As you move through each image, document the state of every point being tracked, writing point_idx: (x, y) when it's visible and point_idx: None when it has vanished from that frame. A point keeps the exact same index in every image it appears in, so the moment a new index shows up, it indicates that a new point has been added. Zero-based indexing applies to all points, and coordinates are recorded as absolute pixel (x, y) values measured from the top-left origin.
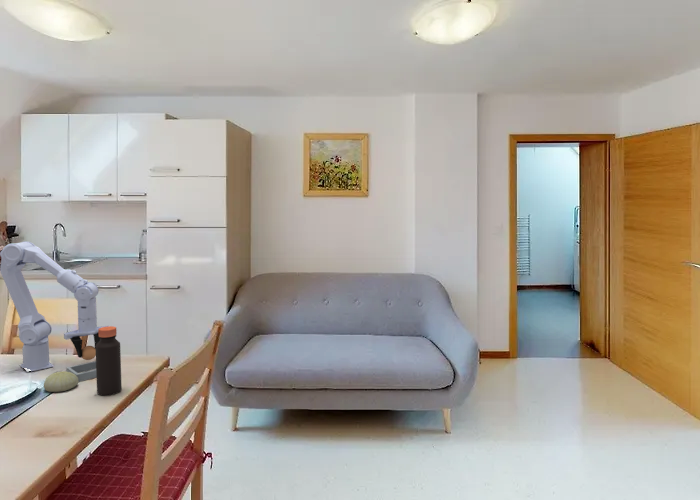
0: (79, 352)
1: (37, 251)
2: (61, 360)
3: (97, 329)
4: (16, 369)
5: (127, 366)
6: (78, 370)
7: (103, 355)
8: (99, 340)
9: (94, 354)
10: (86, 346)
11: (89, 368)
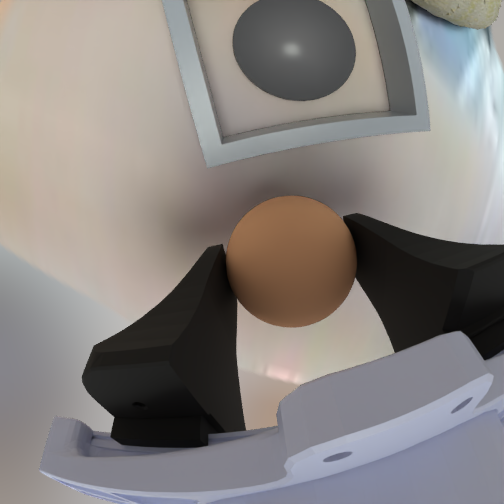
0: (385, 223)
1: None
2: (358, 344)
3: (195, 499)
4: None
5: (61, 97)
6: (354, 115)
7: None
8: (180, 315)
9: (247, 213)
10: (322, 299)
11: (285, 125)
